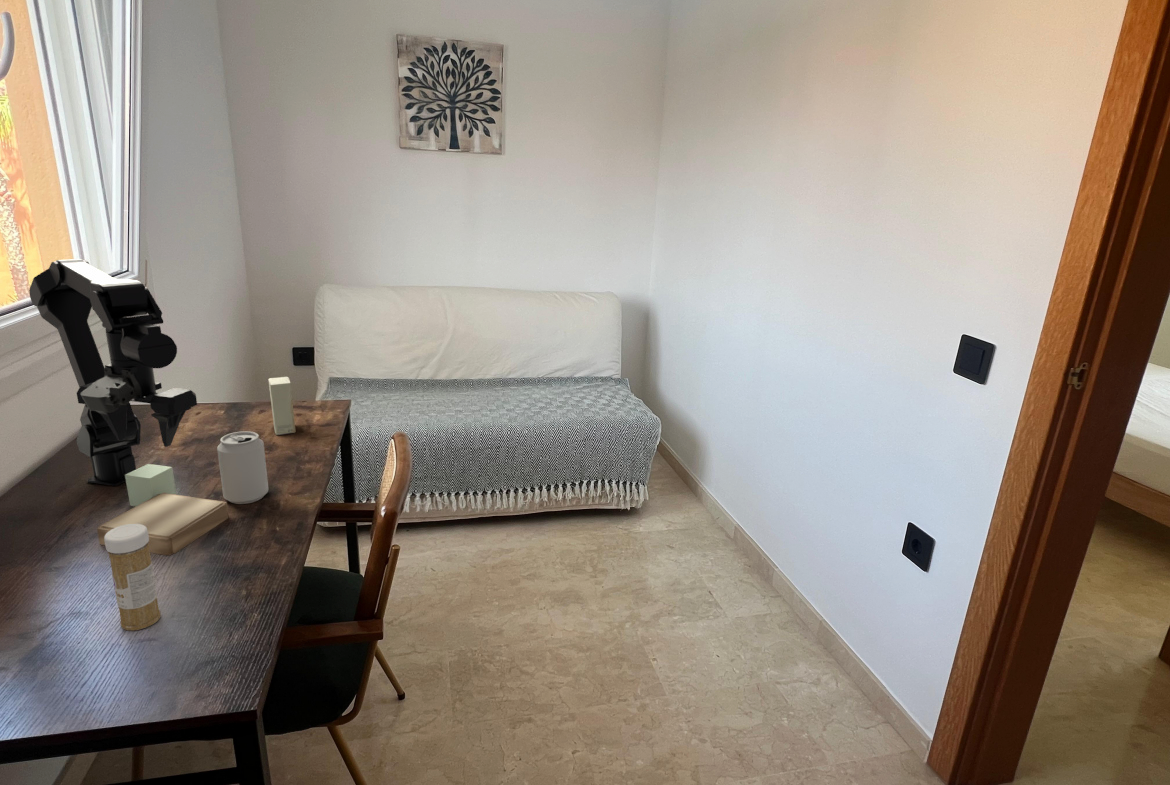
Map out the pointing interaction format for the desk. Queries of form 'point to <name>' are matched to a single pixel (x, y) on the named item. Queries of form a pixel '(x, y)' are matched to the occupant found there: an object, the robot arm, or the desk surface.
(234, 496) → the can
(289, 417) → the skincare box
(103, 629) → the desk surface
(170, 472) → the green block
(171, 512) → the base slab
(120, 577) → the sprinkles bottle
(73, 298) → the robot arm
